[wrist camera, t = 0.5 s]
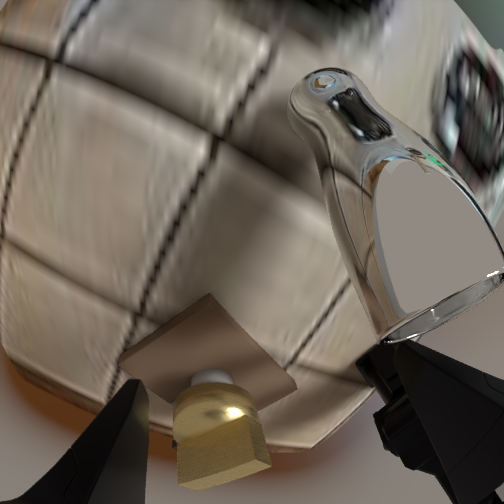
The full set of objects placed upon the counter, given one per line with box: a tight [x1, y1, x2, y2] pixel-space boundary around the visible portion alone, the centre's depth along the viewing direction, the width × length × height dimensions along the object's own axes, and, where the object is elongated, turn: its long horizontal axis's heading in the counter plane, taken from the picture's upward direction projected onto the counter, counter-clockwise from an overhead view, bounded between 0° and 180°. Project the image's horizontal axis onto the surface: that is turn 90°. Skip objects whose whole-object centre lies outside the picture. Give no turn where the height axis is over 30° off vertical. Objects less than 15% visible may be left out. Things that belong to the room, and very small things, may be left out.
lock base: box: [118, 293, 298, 411], centre depth 24 cm, size 14×11×4 cm
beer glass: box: [287, 67, 504, 346], centre depth 13 cm, size 7×7×15 cm
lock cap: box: [172, 382, 272, 491], centre depth 18 cm, size 8×7×7 cm
